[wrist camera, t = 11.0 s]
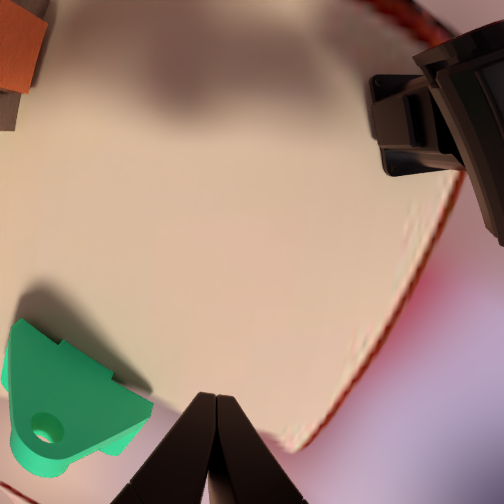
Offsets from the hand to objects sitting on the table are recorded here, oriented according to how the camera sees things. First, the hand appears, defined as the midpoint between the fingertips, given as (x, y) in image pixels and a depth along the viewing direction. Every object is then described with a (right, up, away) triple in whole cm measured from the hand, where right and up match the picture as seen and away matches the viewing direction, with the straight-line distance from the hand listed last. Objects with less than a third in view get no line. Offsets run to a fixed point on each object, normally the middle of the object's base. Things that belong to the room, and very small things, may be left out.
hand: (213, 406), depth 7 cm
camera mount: (-14, -7, +15) cm, 22 cm away
